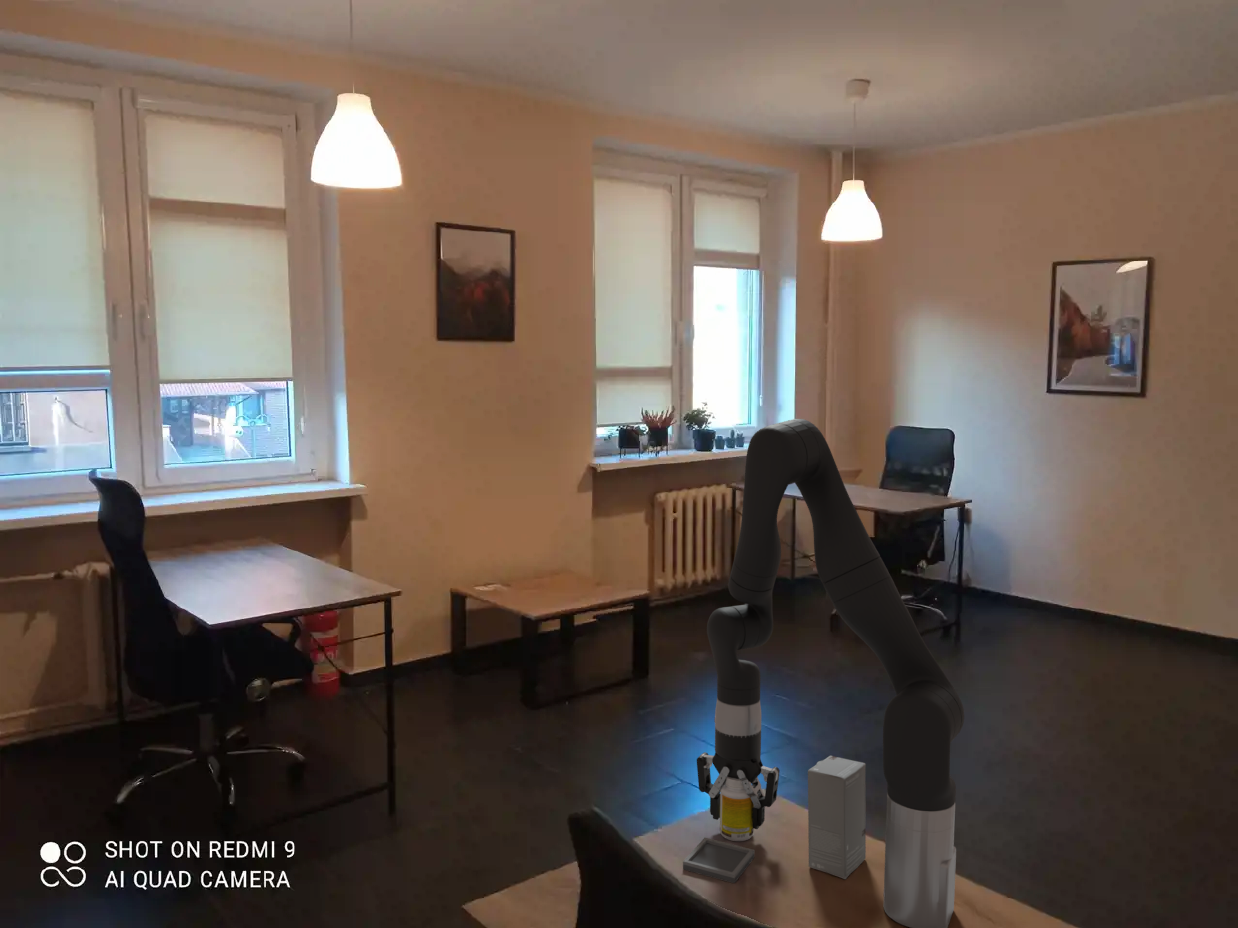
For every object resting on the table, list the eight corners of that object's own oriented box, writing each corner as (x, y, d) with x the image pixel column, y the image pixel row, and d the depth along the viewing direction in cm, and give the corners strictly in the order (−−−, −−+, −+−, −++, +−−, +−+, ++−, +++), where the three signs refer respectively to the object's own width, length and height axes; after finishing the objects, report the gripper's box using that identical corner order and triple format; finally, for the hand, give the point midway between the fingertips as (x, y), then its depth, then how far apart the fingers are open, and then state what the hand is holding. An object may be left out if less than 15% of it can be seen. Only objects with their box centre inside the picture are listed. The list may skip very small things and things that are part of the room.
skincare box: (845, 881, 147) (848, 781, 145) (802, 866, 151) (804, 768, 149) (868, 858, 154) (871, 762, 152) (826, 844, 158) (828, 751, 156)
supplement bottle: (757, 841, 159) (758, 781, 158) (723, 843, 158) (724, 783, 157) (748, 825, 164) (749, 767, 163) (716, 827, 164) (717, 769, 163)
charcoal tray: (754, 857, 154) (754, 849, 154) (734, 883, 146) (734, 874, 146) (704, 844, 158) (704, 837, 158) (683, 869, 150) (683, 861, 150)
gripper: (787, 725, 159) (785, 822, 161) (706, 710, 166) (705, 803, 168) (772, 741, 152) (770, 842, 154) (688, 724, 159) (687, 821, 161)
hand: (736, 821), depth 161 cm, fingers open, 6 cm apart
